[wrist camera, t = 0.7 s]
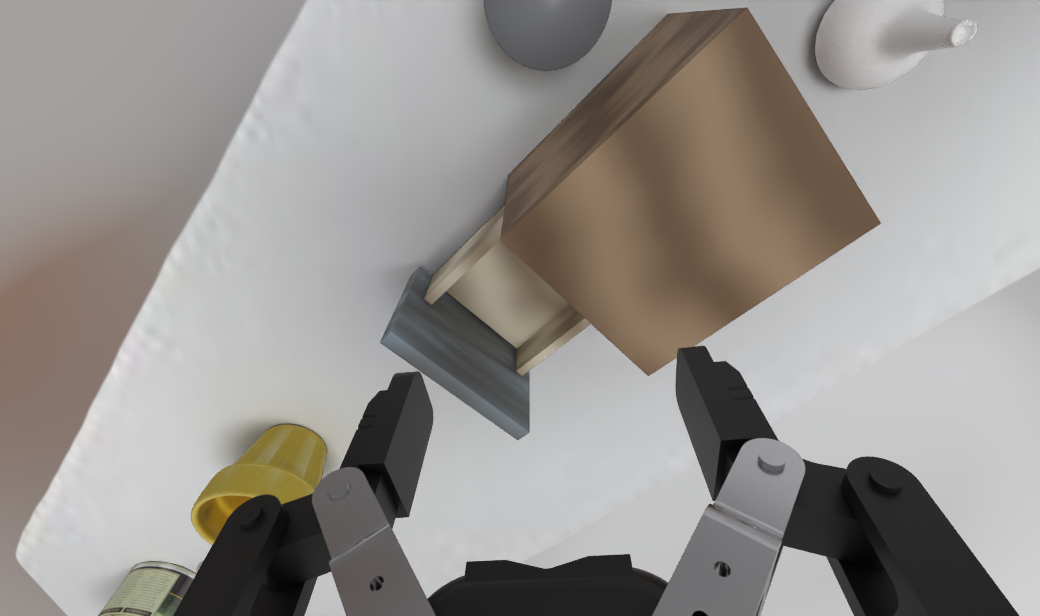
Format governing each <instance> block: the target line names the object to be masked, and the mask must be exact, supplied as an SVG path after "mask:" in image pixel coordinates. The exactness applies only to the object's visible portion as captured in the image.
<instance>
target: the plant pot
mask: <svg viewBox="0 0 1040 616" xmlns="http://www.w3.org/2000/svg"><path fill="white" fill-rule="evenodd" d="M326 454H327V449H326V445H325V443H324V442H323V440H322V439H321V438H320V437H319V436H318V435H317V434H316V433H314V432H313V431H311V430H309V429H307V428H304V427H301V426H298V425H292V424H283V425H277V426H274V427H272V428H270V429H269V430H267V431H266V432H265V433H264V434H263V435H262V436H261V437H260V438H259V439H258V440H257V441H256V442H255V443H254V444H253V445H252V446H251V447H250V448H249V449H248V450H247V451H246V452H245V453H244V454H243V455H242V456H241V457H240V458H239V459H238V460H237V461H236V462H235V463H234V464H233V465H231V466H229V467H226V468H224V469H222V470H221V471H219V472H218V473H217V474H216V475H215V476H214V477H213V478H212V480H211V481H210V482H209V484H208V485H207V486H206V488H205V489H204V490H203V492H202V493H201V495H200V496H199V498H198V499H197V501H196V502H195V504H194V506H193V508H192V511H191V521H192V524H193V526H194V528H195V529H196V531H197V532H198V533H199V535H200V536H201V537H202V538H203V539H205V540H206V541H207V542H209V543H210V544H212V545H213V544H214V542H215V540H216V538H217V537H218V535H219V533H220V531H221V529H222V528H223V526H224V524H225V522H226V521H227V519H228V517H229V516H230V515H231V514H232V512H233V511H234V510H235V509H237V508H238V507H239V506H240V505H241V504H243V503H244V502H246V501H248V500H249V499H251V498H254V497H256V496H259V495H265V494H269V495H273V496H276V497H277V498H278V499H279V501H280V502H281V504H284V503H287V502H290V501H293V500H296V499H298V498H301V497H304V496H307V495H310V494H312V493H313V492H314V490H315V488H316V487H317V485H318V484H319V483H320V481H321V479H322V474H323V468H324V463H325V458H326Z"/></svg>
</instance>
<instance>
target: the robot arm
mask: <svg viewBox="0 0 1040 616" xmlns="http://www.w3.org/2000/svg"><path fill="white" fill-rule="evenodd" d="M676 397H677V402H678V406H679V409H680V412H681V414H682V417H683V420H684V423H685V425H686V428H687V431H688V434H689V437H690V439H691V442H692V445H693V448H694V450H695V453H696V456H697V459H698V461H699V464H700V467H701V469H702V472H703V475H704V478H705V481H706V483H707V486H708V489H709V492H710V494H711V497H712V500H713V501H715V503H714V504H713V505H712V504H709V505H708V506H707V508H706V509H705V511H704V513H703V515H702V517H701V519H700V521H699V523H698V525H697V527H696V529H695V531H694V533H693V535H692V537H691V539H690V541H689V543H688V545H687V547H686V549H685V551H684V553H683V555H682V557H681V559H680V561H679V563H678V565H677V567H676V569H675V571H674V573H673V575H672V577H671V579H670V581H669V583H668V582H666V581H665V580H663V579H662V578H660V577H658V576H656V575H654V574H651V573H649V572H646V571H644V570H641V569H637V568H633V567H632V563H631V557H630V555H629V554H624V555H603V556H588V557H585V558H581V559H578V560H575V561H572V562H569V563H566V564H563V565H559V566H556V567H554V568H549V569H542V568H538V567H534V566H529V565H525V564H521V563H517V562H512V561H508V560H495V561H473V562H467V563H466V570H465V576H462V577H459V578H457V579H455V580H453V581H451V582H449V583H447V584H446V585H444V586H442V587H441V588H440V589H438V590H437V591H436V592H435V593H433V594H432V595H431V596H430V597H429V598H428V599H427V597H426V595H425V594H424V592H423V590H422V588H421V586H420V584H419V582H418V580H417V578H416V576H415V574H414V572H413V570H412V568H411V566H410V564H409V562H408V560H407V558H406V556H405V554H404V552H403V550H402V548H401V546H400V544H399V542H398V540H397V538H396V536H395V534H394V532H393V530H392V528H393V524H394V521H395V518H403V517H409V514H410V510H411V507H412V503H413V499H414V495H415V491H416V487H417V483H418V480H419V476H420V472H421V468H422V464H423V460H424V456H425V453H426V449H427V445H428V441H429V437H430V433H431V429H432V425H433V409H432V405H431V402H430V399H429V396H428V393H427V390H426V387H425V384H424V381H423V378H422V375H421V373H420V372H418V371H417V372H406V373H396V374H394V376H393V378H392V380H391V383H390V385H389V388H388V390H384V391H379V392H378V393H377V394H376V396H375V397H374V398H373V399H372V400H371V401H370V402H369V403H368V405H367V408H366V410H365V412H364V414H363V419H361V421H360V423H359V426H358V430H356V433H355V435H354V437H353V439H352V442H351V444H350V446H349V448H348V451H347V453H346V455H345V458H344V460H343V462H342V464H341V467H340V469H338V470H336V471H334V472H332V473H330V474H329V475H327V476H326V477H325V478H323V479H322V480H321V481H320V483H319V484H318V485H317V487H316V488H315V490H314V492H313V493H312V494H310V495H307V496H304V497H301V498H298V499H296V500H293V501H290V502H287V503H284V504H281V502H280V501H279V499H278V498H277V497H276V496H273V495H269V494H265V495H259V496H256V497H254V498H251V499H249V500H248V501H246V502H244V503H243V504H241V505H240V506H239V507H238V508H237V509H235V510H234V511H233V512H232V514H231V515H230V516H229V517H228V519H227V521H226V522H225V524H224V526H223V528H222V529H221V531H220V533H219V535H218V537H217V538H216V540H215V542H214V544H213V545H212V547H211V549H210V551H209V553H208V554H207V556H206V558H205V560H204V561H203V563H202V565H201V567H200V569H199V570H198V572H197V574H196V576H195V577H194V579H193V581H192V583H191V585H190V586H189V588H188V590H187V592H186V594H185V595H184V597H183V599H182V601H181V602H180V604H179V606H178V608H177V610H176V611H175V613H174V615H173V616H304V615H305V612H306V609H307V606H308V603H309V600H310V598H311V595H312V592H313V589H314V586H315V583H316V580H317V577H318V576H321V575H323V574H326V573H328V572H332V575H333V578H334V581H335V584H336V587H337V590H338V593H339V595H340V598H341V601H342V604H343V607H344V610H345V613H346V616H760V615H761V611H762V609H763V606H764V603H765V599H766V596H767V594H768V591H769V588H770V585H771V582H772V579H773V576H774V573H775V570H776V567H777V564H778V561H779V558H780V555H781V552H782V549H783V546H787V547H791V548H795V549H799V550H803V551H807V552H811V553H815V554H819V555H823V556H826V557H827V559H828V561H829V563H830V565H831V567H832V569H833V572H834V574H835V576H836V578H837V580H838V582H839V585H840V587H841V589H842V591H843V593H844V595H845V597H846V599H847V602H848V604H849V606H850V608H851V610H852V612H853V614H854V616H1019V615H1018V613H1017V612H1016V611H1015V609H1014V608H1013V607H1012V605H1011V604H1010V603H1009V601H1008V600H1007V599H1006V597H1005V596H1004V595H1003V593H1002V592H1001V591H1000V589H999V588H998V586H997V585H996V584H995V582H994V581H993V580H992V578H991V577H990V576H989V574H988V573H987V572H986V570H985V569H984V568H983V566H982V565H981V564H980V562H979V561H978V560H977V558H976V557H975V556H974V554H973V553H972V552H971V550H970V549H969V547H968V546H967V545H966V543H965V542H964V541H963V539H962V538H961V537H960V535H959V534H958V533H957V531H956V530H955V529H954V527H953V526H952V525H951V523H950V522H949V521H948V519H947V518H946V517H945V515H944V514H943V513H942V511H941V510H940V508H939V507H938V506H937V504H936V503H935V502H934V500H933V499H932V498H931V497H930V495H929V494H928V492H927V491H926V490H925V488H924V487H923V486H922V484H921V483H920V482H919V480H918V479H917V478H916V477H915V476H914V475H913V474H912V473H910V472H909V471H908V470H906V469H905V468H903V467H902V466H900V465H898V464H896V463H894V462H891V461H888V460H886V459H882V458H877V457H860V458H857V459H855V460H853V461H851V462H850V463H849V465H848V467H847V469H844V468H838V467H833V466H828V465H822V464H817V463H813V462H810V461H807V460H804V459H802V458H801V457H800V455H799V454H798V453H797V452H796V451H795V450H794V449H793V448H791V447H790V446H788V445H786V444H784V443H782V442H780V441H779V440H778V439H777V437H776V435H775V434H774V432H773V430H772V428H771V426H770V425H769V423H768V421H767V419H766V418H765V416H764V414H763V412H762V411H761V409H760V407H759V405H758V404H757V402H756V400H755V399H754V398H753V395H752V393H751V391H750V390H749V388H747V384H746V383H745V381H744V379H743V377H742V376H741V374H740V372H739V371H737V370H736V369H735V368H734V367H732V366H731V365H730V364H729V363H727V362H726V361H722V362H713V360H712V358H711V356H710V354H709V352H708V350H707V348H706V347H705V346H697V347H686V348H679V349H678V351H677V367H676Z"/></svg>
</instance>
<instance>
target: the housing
mask: <svg viewBox="0 0 1040 616" xmlns="http://www.w3.org/2000/svg"><path fill="white" fill-rule="evenodd" d="M879 224H881V223H880V221H879V219H878V218H877V216H876V215H875V213H874V211H873V210H872V208H871V206H870V205H869V203H868V202H867V200H866V198H865V197H864V195H863V194H862V192H861V190H860V189H859V187H858V185H857V184H856V182H855V181H854V179H853V177H852V176H851V174H850V173H849V171H848V169H847V168H846V166H845V164H844V163H843V161H842V160H841V158H840V156H839V155H838V153H837V152H836V150H835V148H834V147H833V145H832V143H831V142H830V140H829V139H828V137H827V135H826V134H825V132H824V131H823V129H822V127H821V126H820V124H819V122H818V121H817V119H816V118H815V116H814V114H813V113H812V111H811V110H810V108H809V106H808V105H807V103H806V102H805V100H804V98H803V97H802V95H801V93H800V92H799V90H798V89H797V87H796V85H795V84H794V82H793V81H792V79H791V77H790V76H789V74H788V72H787V71H786V69H785V68H784V66H783V64H782V63H781V61H780V60H779V58H778V56H777V55H776V53H775V51H774V50H773V48H772V47H771V45H770V43H769V42H768V40H767V39H766V37H765V35H764V34H763V32H762V30H761V29H760V27H759V26H758V24H757V22H756V21H755V19H754V18H753V16H752V14H751V13H750V11H749V9H748V8H736V9H723V10H710V11H697V12H685V13H672V14H667V15H666V16H665V17H664V18H663V19H662V20H661V21H660V22H659V23H658V24H657V25H656V26H655V27H654V28H653V29H652V30H651V31H650V32H649V33H648V34H647V35H646V36H645V37H644V38H643V39H642V40H641V41H640V42H639V44H638V45H637V46H636V47H635V48H634V49H633V50H632V51H631V52H630V53H629V54H628V55H627V56H626V57H625V58H624V59H623V60H622V61H621V62H620V63H619V64H618V65H617V66H616V67H615V68H614V69H613V70H612V71H611V72H610V73H609V74H608V75H607V76H606V77H605V78H604V79H603V80H602V81H601V82H600V83H599V84H598V85H597V86H596V87H595V88H594V89H593V90H592V91H591V92H590V93H589V94H588V95H587V96H586V97H585V98H584V99H583V100H582V101H581V102H580V103H579V104H578V105H577V106H576V107H575V108H574V109H573V110H572V111H571V112H570V113H569V114H568V115H567V116H566V117H565V118H564V119H563V120H562V121H561V122H560V123H559V124H558V125H557V126H556V127H555V128H554V129H553V130H552V131H551V132H550V133H549V134H548V135H547V136H546V137H545V138H544V139H543V141H542V142H541V143H540V144H539V145H538V146H537V147H536V148H535V149H534V150H533V151H532V152H531V153H530V154H529V155H528V156H527V157H526V158H525V159H524V160H523V161H522V162H521V163H520V164H519V165H518V166H517V167H516V168H515V169H514V170H513V171H512V172H511V173H510V174H509V177H508V184H507V192H506V199H505V207H504V214H503V222H502V229H501V237H500V241H501V242H502V243H503V244H505V245H506V246H507V247H508V248H509V249H510V250H511V251H512V252H513V253H514V254H515V255H517V256H518V257H519V258H520V259H521V260H522V261H523V262H524V263H525V264H526V265H527V266H529V267H530V268H531V269H532V270H533V271H534V272H535V273H536V274H537V275H538V276H539V277H541V278H542V279H543V280H544V281H545V282H546V283H547V284H548V285H549V286H550V287H551V288H553V289H554V290H555V291H556V292H557V293H558V294H559V295H560V296H561V297H562V298H563V299H565V300H566V301H567V302H568V303H569V304H570V305H571V306H572V307H573V308H574V309H575V310H577V311H578V312H579V313H580V314H581V315H582V316H583V317H584V318H585V319H586V320H587V321H589V322H590V323H591V324H592V325H593V326H594V327H595V328H596V329H597V330H598V331H600V332H601V333H602V334H603V335H604V336H605V337H606V338H607V339H608V340H609V341H610V342H612V343H613V344H614V345H615V346H616V347H617V348H618V349H619V350H620V351H621V352H622V353H624V354H625V355H626V356H627V357H628V358H629V359H630V360H631V361H632V362H633V363H634V364H636V365H637V366H638V367H639V368H640V369H641V370H642V371H643V372H644V373H645V374H646V375H648V376H649V375H651V374H653V373H654V372H656V371H657V370H659V369H660V368H662V367H663V366H665V365H666V364H668V363H669V362H671V361H672V360H674V359H675V358H677V351H678V349H679V348H686V347H694V346H695V345H697V344H698V343H700V342H701V341H703V340H704V339H706V338H707V337H709V336H710V335H712V334H713V333H715V332H716V331H718V330H719V329H721V328H722V327H724V326H726V325H727V324H729V323H730V322H732V321H733V320H735V319H736V318H738V317H739V316H741V315H742V314H744V313H745V312H747V311H748V310H750V309H751V308H753V307H754V306H756V305H757V304H759V303H760V302H762V301H764V300H765V299H767V298H768V297H770V296H771V295H773V294H774V293H776V292H777V291H779V290H780V289H782V288H783V287H785V286H786V285H788V284H789V283H791V282H792V281H794V280H795V279H797V278H799V277H800V276H802V275H803V274H805V273H806V272H808V271H809V270H811V269H812V268H814V267H815V266H817V265H818V264H820V263H821V262H823V261H824V260H826V259H827V258H829V257H830V256H832V255H833V254H835V253H837V252H838V251H840V250H841V249H843V248H844V247H846V246H847V245H849V244H850V243H852V242H853V241H855V240H856V239H858V238H859V237H861V236H862V235H864V234H865V233H867V232H868V231H870V230H871V229H873V228H875V227H876V226H878V225H879Z"/></svg>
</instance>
